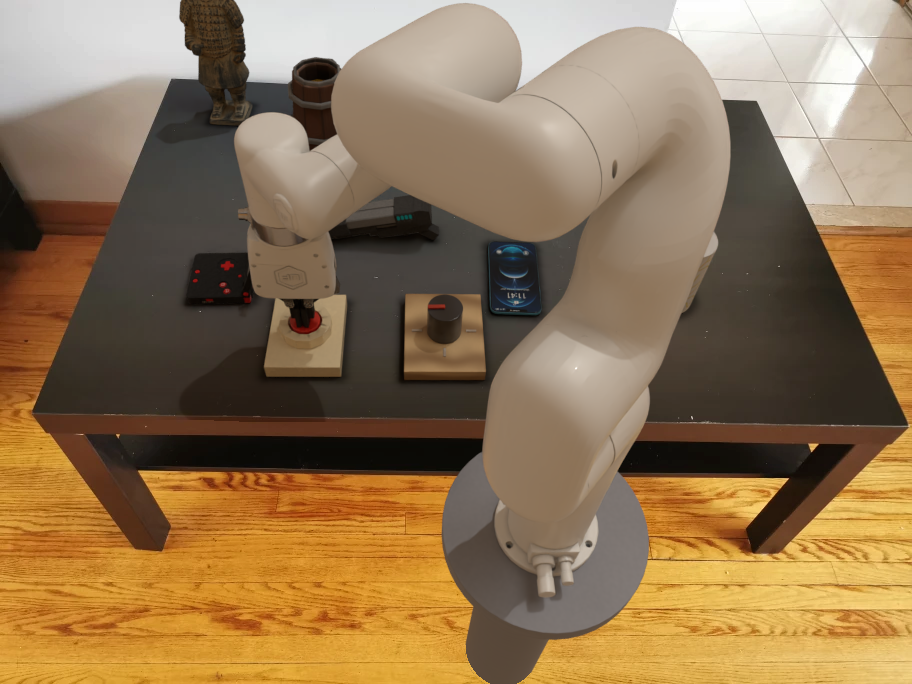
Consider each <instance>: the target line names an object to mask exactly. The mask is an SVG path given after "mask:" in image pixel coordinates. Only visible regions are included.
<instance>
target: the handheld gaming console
mask: <svg viewBox="0 0 912 684" xmlns="http://www.w3.org/2000/svg"><path fill="white" fill-rule="evenodd" d="M187 285H188V286H187V290H186V293H185V294H186V295H185V296H186V299H187V301H188V303H189V305H226V304H227V305H228V304H229V305H231V304H233V305H234V304H235V305H236V304H250V303H251V302H252V299H253V297H254V296H253V295H254V292H255V291H254V289H253V285H252V280H251V274H250V267H249V259H248V252H203V253H201V252H200V253H199V252H198V253H196V254H195V255H194V257H193V263H192V267H191V272H190V276H189V281H188V284H187Z"/></svg>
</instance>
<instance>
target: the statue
mask: <svg viewBox="0 0 912 684" xmlns="http://www.w3.org/2000/svg"><path fill="white" fill-rule="evenodd" d="M178 19H179V21H180V22H181V24H183V27H184V47H185V48H186V49H187V50H188V51H190V52H191V53H192V55H193V56H196V57H197V58H198V61H197V62H198V65H197V66H198V67H197V68H198V69H197V70H198V74H197V75H198V76H197V80H198V82H199V84H200V85H201V86H204V88H205V90H206V92H207V93H208V95H209V97H210V99H211V101H212V103H213V106H212V112H211V114H210V117H209V120H208V121H209V124H211V125H218V126H219V125H221V126H238V127H239V126H240V124H241V123H242V122H244V121H245V120H246V119H248V118H250V117H251V116H250V115H251V112H252V110H253V103H252V101H250V100H246V99H247V98H246V93H247V92H246V91H247V87H248V86H247V85H248V83H247V82H248V78H249V77H250V70H249V68H248V66H247V65H246V63H245V61H244V60H245V59H246V57H247V53H246V52H245V51H246V50H247V49H246V48H247V47H246V46H247V45H246V37H245V31H244V27H243V24H244V23H245V18H244V15H243V13H242V11H241V8H240V6H239V5H238V4H237V2H236V1H235V0H180V1H179V15H178ZM225 90H227V91H228V92H229V95H230V97H231V99H226V93H225Z"/></svg>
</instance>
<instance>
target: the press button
mask: <svg viewBox="0 0 912 684" xmlns="http://www.w3.org/2000/svg"><path fill="white" fill-rule="evenodd" d="M290 324H291V329H292V331H294V332H296V333H298V334H310V333H312V332H315V331H317V329H318V328H319V327H320V326H321V322H320V317H319V315H318V314H317V313H316V312H315V316H314V319H310V323H309V328H305V327H303V326H302V327H301V328H298V327H297V326H296V321H295V318H291V320H290Z"/></svg>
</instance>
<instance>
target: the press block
mask: <svg viewBox="0 0 912 684" xmlns="http://www.w3.org/2000/svg"><path fill="white" fill-rule="evenodd" d="M314 308H315V312H316V313H317V314H318V315H319V317H320V322H321V326H320V327H319V328H318V329H317V331H315V332H312V333H310V334H298V333H296V332H294V331H292V329H291V324H290V320H291V314H290V309H289V308H288V307H286V306H285V304H284V302H283V301H282V300H280V299H278V298H274V305H273V311H272V317H271V322H270V327H269V328H270V329H269V335H268V341H267V346H266V351H265V352H266V353H265V358H264V363H263V364H264V365H263V370H264V373H265V376H266V377H267V378H269V377H271V378H275V377H276V378H277V377H279V378H285V377H287V378H288V377H289V378H290V377H291V378H293V377H294V378H303V377H304V378H323V377H324V378H329V377H330V378H342V374H343V372H342V371H343V361H344V348H345V338H346V337H345V335H346V327H347V326H346V324H347V312H348V299H347V294H334V295H332V296H331V297H328V298H323V299H319V300H317V301H316V302H314Z"/></svg>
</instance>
